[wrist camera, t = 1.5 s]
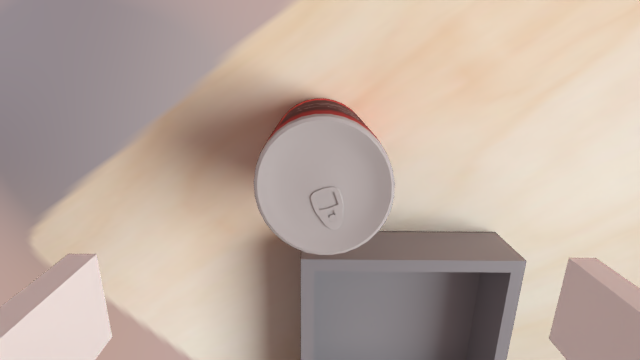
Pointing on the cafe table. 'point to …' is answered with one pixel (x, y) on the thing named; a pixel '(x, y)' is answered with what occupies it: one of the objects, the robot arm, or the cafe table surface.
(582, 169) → the cafe table surface
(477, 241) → the box
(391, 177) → the canned food
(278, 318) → the cafe table surface
